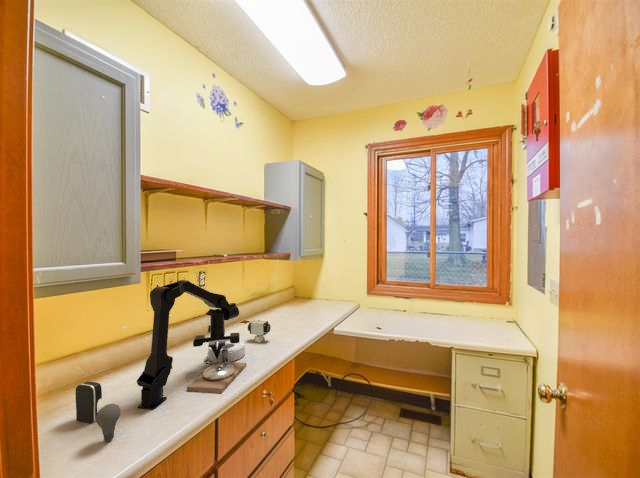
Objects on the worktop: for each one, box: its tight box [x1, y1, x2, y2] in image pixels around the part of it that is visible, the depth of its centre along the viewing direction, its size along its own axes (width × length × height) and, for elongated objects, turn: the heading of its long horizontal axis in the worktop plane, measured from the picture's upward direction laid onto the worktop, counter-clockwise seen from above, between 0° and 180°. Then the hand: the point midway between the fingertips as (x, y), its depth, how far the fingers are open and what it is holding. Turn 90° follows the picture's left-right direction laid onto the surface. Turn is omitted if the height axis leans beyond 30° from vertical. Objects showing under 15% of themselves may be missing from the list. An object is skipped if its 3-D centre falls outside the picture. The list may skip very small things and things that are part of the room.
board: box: [186, 361, 247, 394], centre depth 116 cm, size 22×14×2 cm, turn 171°
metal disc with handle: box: [202, 349, 234, 381], centre depth 117 cm, size 15×12×6 cm
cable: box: [204, 340, 246, 365], centre depth 137 cm, size 18×18×6 cm
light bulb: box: [95, 403, 121, 442], centre depth 80 cm, size 6×6×10 cm
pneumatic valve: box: [247, 319, 272, 344], centre depth 156 cm, size 6×12×12 cm, turn 74°
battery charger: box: [75, 381, 103, 424], centre depth 90 cm, size 7×4×11 cm, turn 76°
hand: (217, 358), depth 124 cm, fingers closed
